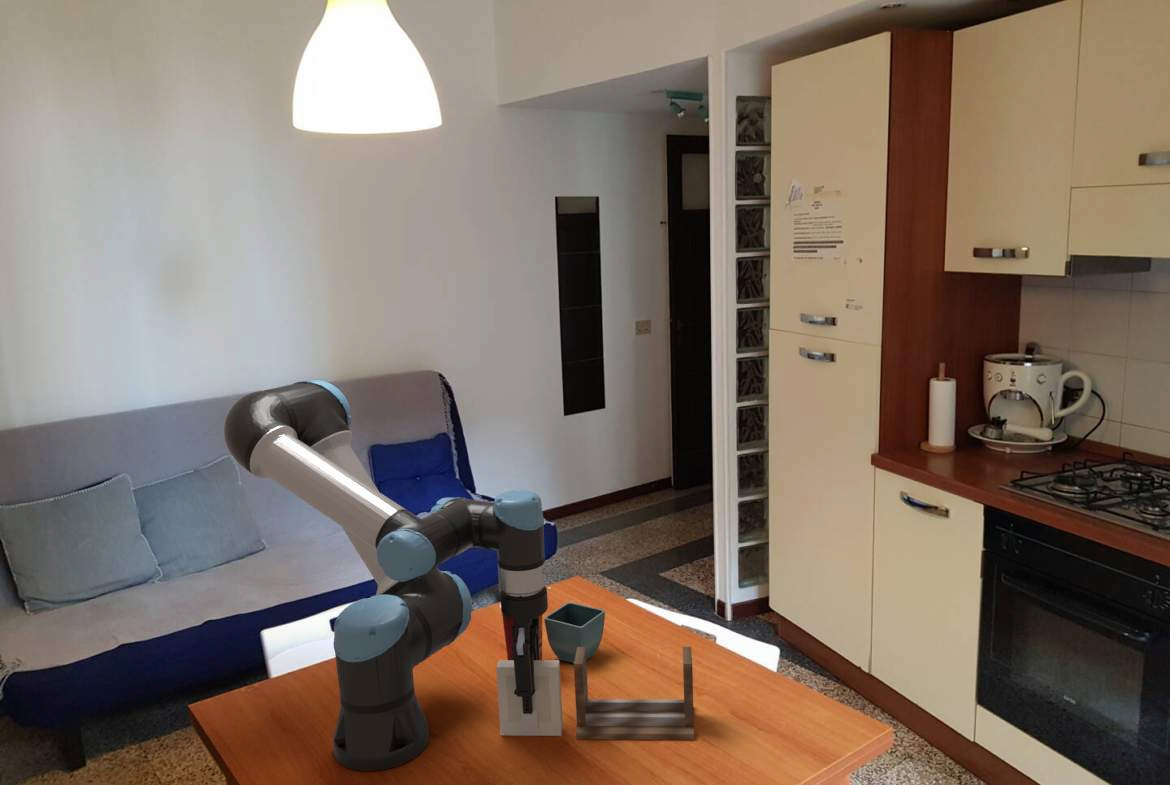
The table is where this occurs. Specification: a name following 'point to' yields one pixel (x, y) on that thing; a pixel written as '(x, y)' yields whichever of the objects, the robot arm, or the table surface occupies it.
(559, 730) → the door panel
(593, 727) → the track
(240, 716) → the table surface
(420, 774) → the table surface
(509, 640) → the coffee cup
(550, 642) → the flower pot
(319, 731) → the table surface
